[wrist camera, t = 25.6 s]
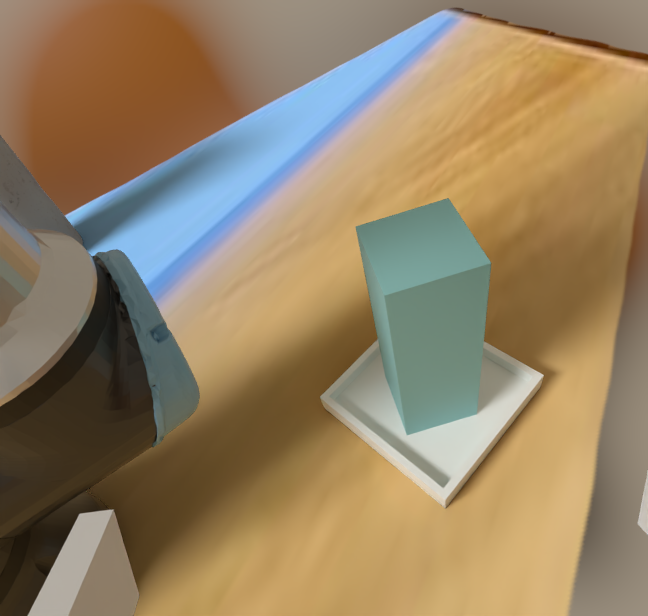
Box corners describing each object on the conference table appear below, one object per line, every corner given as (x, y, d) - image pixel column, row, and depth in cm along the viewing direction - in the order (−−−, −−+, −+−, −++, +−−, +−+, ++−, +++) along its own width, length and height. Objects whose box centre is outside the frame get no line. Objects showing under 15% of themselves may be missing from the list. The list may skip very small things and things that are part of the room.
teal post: (476, 414, 40) (491, 262, 26) (406, 435, 40) (384, 295, 26) (448, 356, 43) (448, 198, 30) (385, 375, 44) (355, 226, 30)
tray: (324, 407, 44) (319, 397, 42) (415, 314, 48) (414, 301, 47) (445, 508, 36) (445, 500, 35) (540, 387, 41) (543, 375, 39)
